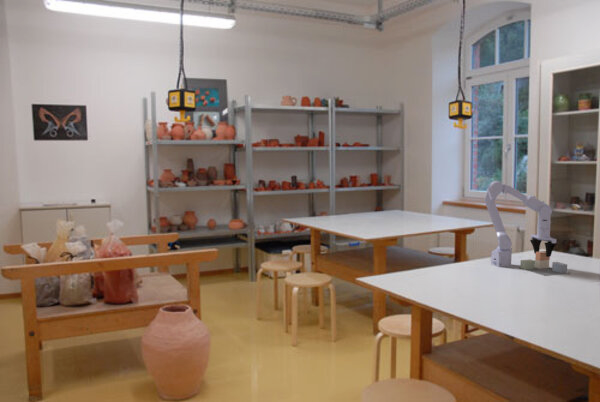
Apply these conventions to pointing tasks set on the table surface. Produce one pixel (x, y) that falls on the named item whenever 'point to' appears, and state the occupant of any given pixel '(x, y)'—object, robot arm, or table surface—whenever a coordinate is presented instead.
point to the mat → (545, 271)
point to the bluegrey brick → (559, 267)
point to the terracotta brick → (541, 256)
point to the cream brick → (541, 264)
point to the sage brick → (527, 264)
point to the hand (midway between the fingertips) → (542, 255)
